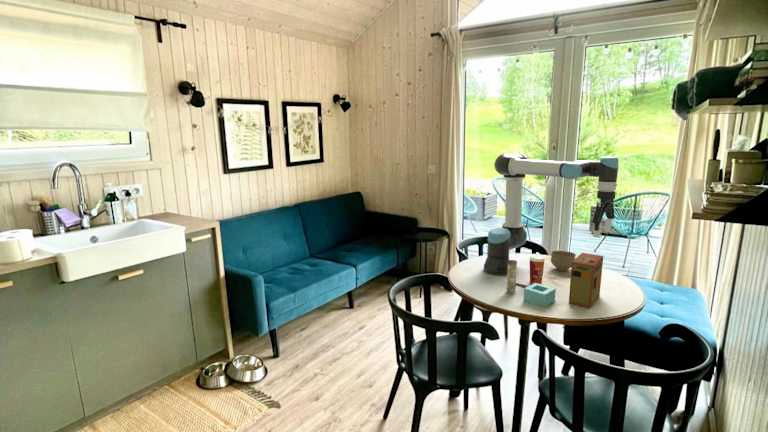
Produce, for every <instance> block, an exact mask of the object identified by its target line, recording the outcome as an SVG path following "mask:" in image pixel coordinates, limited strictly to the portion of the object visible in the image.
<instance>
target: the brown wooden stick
mask: <svg viewBox="0 0 768 432" xmlns="http://www.w3.org/2000/svg"><path fill="white" fill-rule="evenodd" d="M516 286H519V287H522V288H526V287H528V286H529V285H526V284H522V283H519V282H516Z"/></svg>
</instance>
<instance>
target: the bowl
mask: <svg viewBox="0 0 768 432" xmlns="http://www.w3.org/2000/svg"><path fill="white" fill-rule="evenodd" d="M550 253H551V257H550V263H551V264H552V265H553V266H554V268H556V270H557V271H563V272H565V271H568V270H569V269H571V268H572V261H573V260H575V259H576V256H577V254H576V253H574V252H571V251H567V250H552V251H551V252H550Z"/></svg>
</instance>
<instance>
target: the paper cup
mask: <svg viewBox="0 0 768 432" xmlns="http://www.w3.org/2000/svg"><path fill="white" fill-rule="evenodd" d="M528 259H529V284H530V285H532V284H534V283H538V284H542V283H543V276H544V267H545V261H546V259H545V257H544V256H542V255H539V254H538V255H537V254H536V255H535V254H531V255H530V256H529V258H528Z"/></svg>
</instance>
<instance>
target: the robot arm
mask: <svg viewBox="0 0 768 432" xmlns="http://www.w3.org/2000/svg"><path fill="white" fill-rule="evenodd" d="M619 163H620V162H619V158H618V157H616V156H601V157H600V159H599V160H588V159H587V160H585V159H576V160H575V161H562V160H561V161H560V160H559V161H558V160H545V159H544V160H542V159H529V157H528V156H527V155H526V154H525V153H523V152H510V153H509V152H508V153H502V154H500V155H498V156H497V157H496V159H495V161H494V169H495V171H496V172H497V173H498V174H499V175H502V176H503V178H504V180H505V181H506V182H505V215H504V217H505V219H504V222H503V223H502V226H501V227H495V228H492V229H490V230H489V231H488V234H487V252H486V253H487V255H486V256H487V257H486V259H485V262H484V264H483V272H485V273H487V274H490V275H492V276H506V275H507V274H508V260H510V251H511V250H513V249H517V248H520V247H521V246H523V245H524V244H526V243H527V238H528V232H527V230H526V229H525V227H524V226H525V225H524V224H523V223H522V204H523V203H522V201H523V198H522V197H523V180H524V179H525V178H526V175H528V176H543V177H554V178H562V179H563V178H564V179H566V180H575V179H579V178H580V179H581V178H585V177H590V178H591V177H593V178H598V182H597V191H596V193H597V194H596V198H597V199H598V200H600V201H597V202H596V208H595V211H594V215H593V219H592V222H591V223H592V224H593V233H592V236H593V238H600V237H601V228H602V224H601V222H602V220H603V217H604V214H605V216H606V217H605V220H604V221H605V222H604V232H605V233H612V225H613V220H615V219H616V217H615V208H614V207H615V206H614V205H615V204H614V201H615V199H616V193H617V192H616V190H617V186H618V183H617V180H618V172H619V168H620V167H619Z"/></svg>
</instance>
